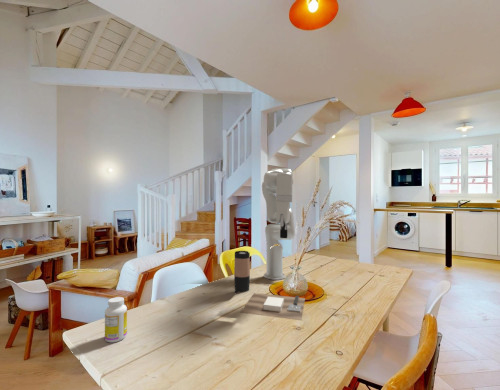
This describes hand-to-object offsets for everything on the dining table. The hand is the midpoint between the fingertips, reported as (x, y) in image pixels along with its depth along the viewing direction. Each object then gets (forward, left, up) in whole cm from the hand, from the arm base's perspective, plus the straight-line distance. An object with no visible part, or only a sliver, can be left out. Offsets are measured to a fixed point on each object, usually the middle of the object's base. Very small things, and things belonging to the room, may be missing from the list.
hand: (283, 237), depth 124 cm
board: (+13, -2, -28) cm, 31 cm away
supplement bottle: (+51, -49, -29) cm, 76 cm away
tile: (+10, -2, -26) cm, 28 cm away
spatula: (+10, +7, -27) cm, 29 cm away
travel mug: (-1, -21, -29) cm, 35 cm away
